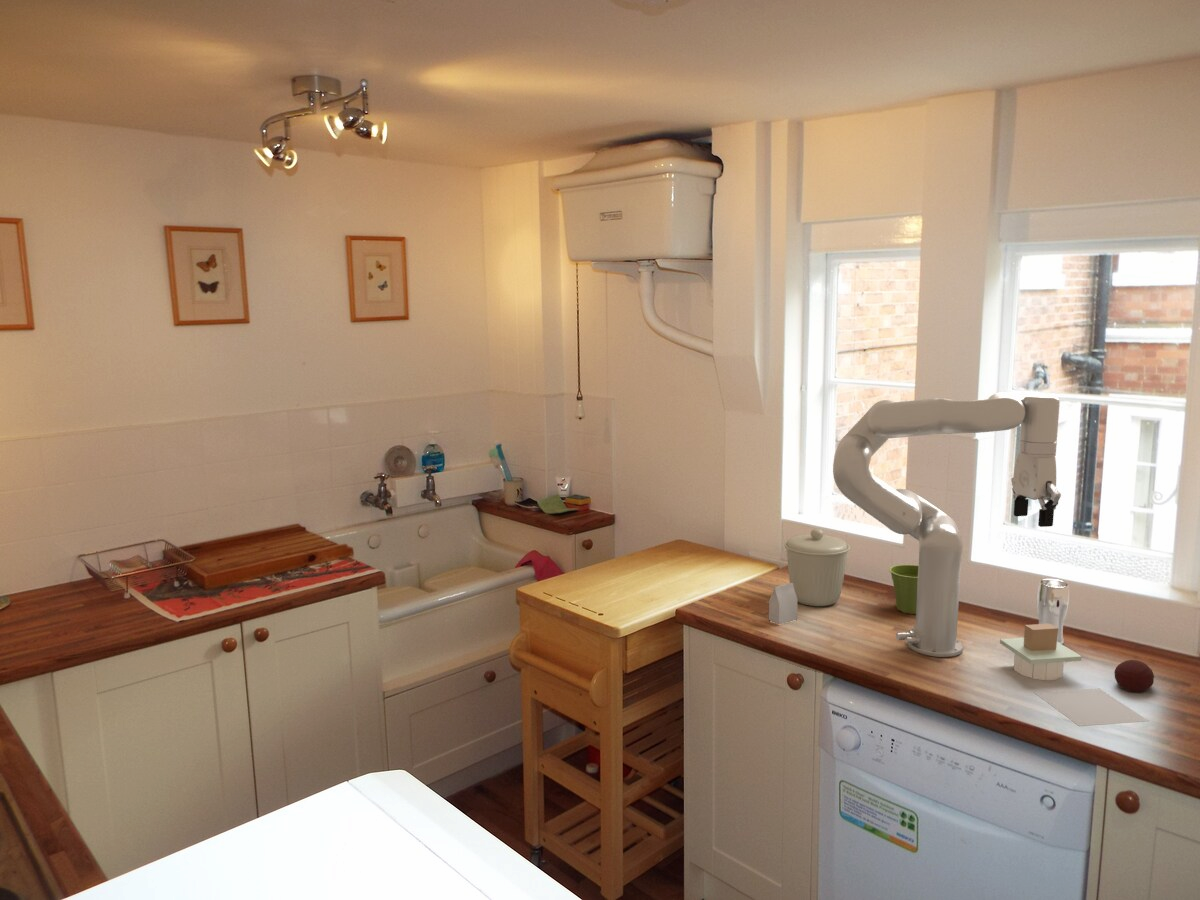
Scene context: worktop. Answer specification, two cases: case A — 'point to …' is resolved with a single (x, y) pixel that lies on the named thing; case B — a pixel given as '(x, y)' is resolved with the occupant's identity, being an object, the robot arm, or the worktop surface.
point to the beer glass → (1053, 604)
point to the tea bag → (783, 604)
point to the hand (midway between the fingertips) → (1032, 520)
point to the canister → (816, 567)
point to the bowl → (1038, 669)
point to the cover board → (1040, 654)
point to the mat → (1090, 707)
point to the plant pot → (905, 587)
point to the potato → (1134, 676)
